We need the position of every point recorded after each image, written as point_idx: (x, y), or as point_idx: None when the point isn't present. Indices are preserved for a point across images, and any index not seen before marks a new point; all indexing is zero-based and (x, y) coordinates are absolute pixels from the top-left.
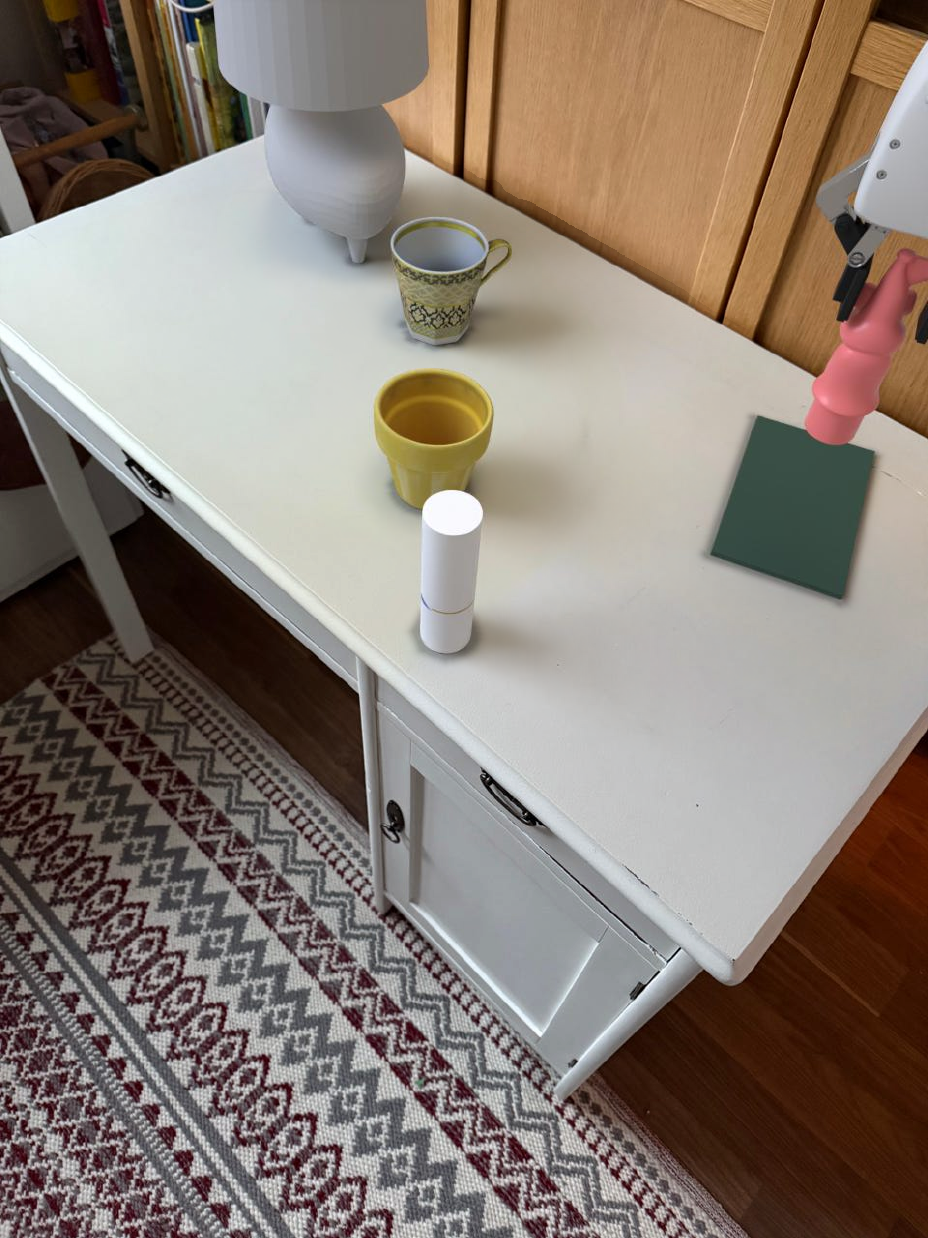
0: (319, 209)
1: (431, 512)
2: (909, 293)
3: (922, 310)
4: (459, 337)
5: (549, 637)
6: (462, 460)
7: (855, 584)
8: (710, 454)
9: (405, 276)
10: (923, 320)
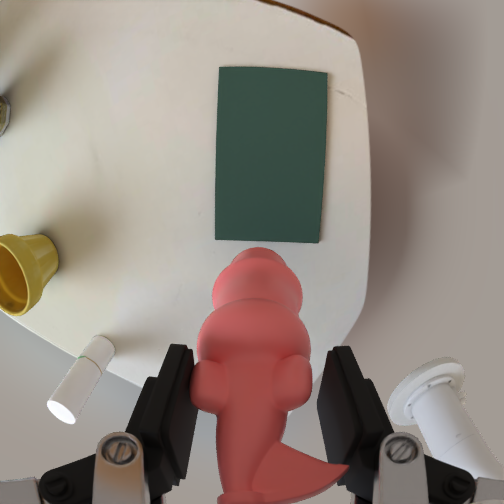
0: None
1: (54, 412)
2: (291, 408)
3: (331, 362)
4: (7, 121)
5: (146, 335)
6: (36, 300)
7: (327, 222)
8: (190, 127)
9: None
10: (324, 415)
